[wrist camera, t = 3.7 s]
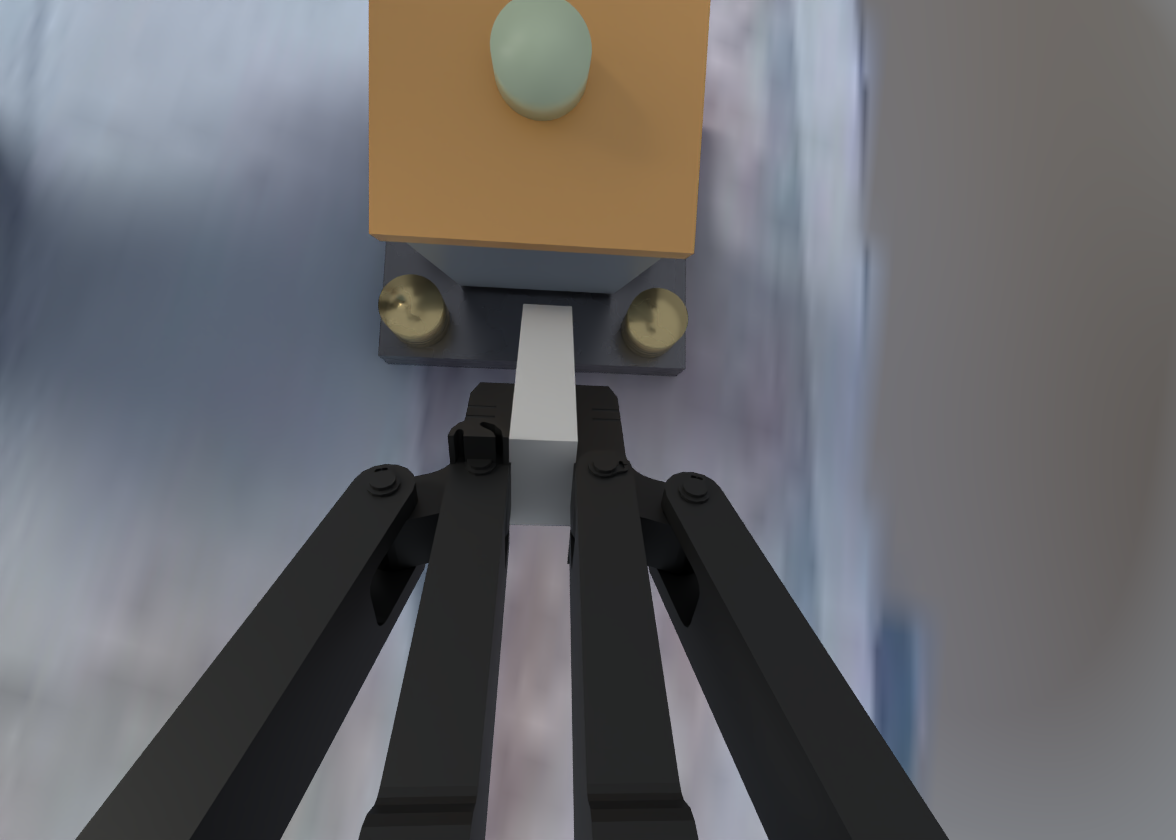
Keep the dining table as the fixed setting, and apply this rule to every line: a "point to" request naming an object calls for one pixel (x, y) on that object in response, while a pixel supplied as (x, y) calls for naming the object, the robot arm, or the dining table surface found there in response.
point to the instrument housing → (537, 136)
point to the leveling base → (493, 319)
